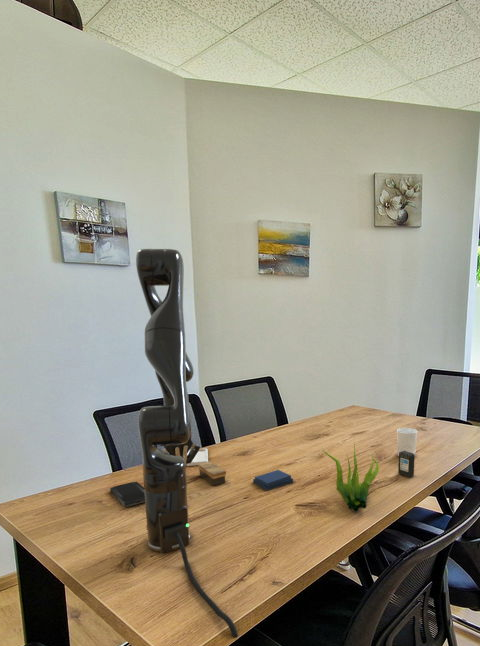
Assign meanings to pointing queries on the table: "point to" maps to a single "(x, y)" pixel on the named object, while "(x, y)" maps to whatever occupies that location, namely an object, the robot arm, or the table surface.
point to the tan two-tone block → (212, 473)
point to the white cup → (406, 440)
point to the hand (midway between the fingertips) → (180, 477)
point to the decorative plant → (354, 484)
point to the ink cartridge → (406, 463)
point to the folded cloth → (272, 479)
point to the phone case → (199, 457)
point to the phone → (129, 494)
